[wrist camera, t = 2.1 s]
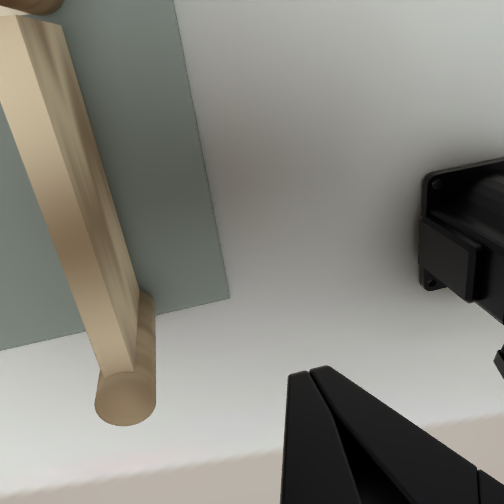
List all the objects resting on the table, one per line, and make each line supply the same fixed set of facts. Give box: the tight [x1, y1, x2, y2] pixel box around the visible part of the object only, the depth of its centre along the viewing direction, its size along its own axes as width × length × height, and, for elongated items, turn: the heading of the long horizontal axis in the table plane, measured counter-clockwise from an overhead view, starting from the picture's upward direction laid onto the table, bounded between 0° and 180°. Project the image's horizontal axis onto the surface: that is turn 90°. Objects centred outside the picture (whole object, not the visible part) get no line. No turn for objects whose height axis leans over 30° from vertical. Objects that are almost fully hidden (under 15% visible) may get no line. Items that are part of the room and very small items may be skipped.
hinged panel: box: [0, 14, 156, 426], centre depth 15 cm, size 13×2×6 cm, turn 8°
